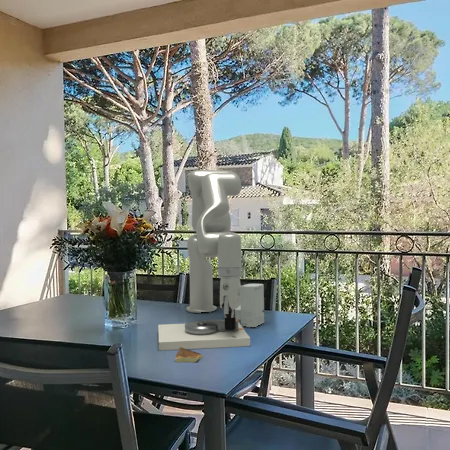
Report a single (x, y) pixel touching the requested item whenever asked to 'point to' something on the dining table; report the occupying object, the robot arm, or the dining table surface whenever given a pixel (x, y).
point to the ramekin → (238, 312)
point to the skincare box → (252, 305)
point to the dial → (207, 327)
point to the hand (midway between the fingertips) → (230, 329)
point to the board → (199, 338)
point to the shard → (187, 356)
